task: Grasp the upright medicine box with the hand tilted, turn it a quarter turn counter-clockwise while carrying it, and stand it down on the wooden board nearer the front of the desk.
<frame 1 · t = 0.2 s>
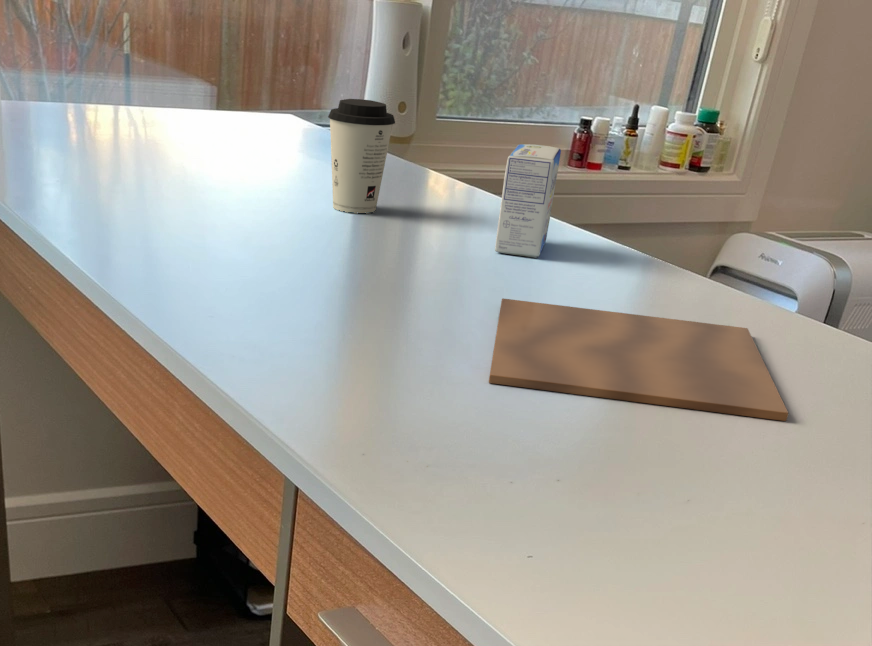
wooden board: (628, 357, 83), on the table
medicine box: (519, 249, 110), on the table
coffee cup: (354, 210, 119), on the table
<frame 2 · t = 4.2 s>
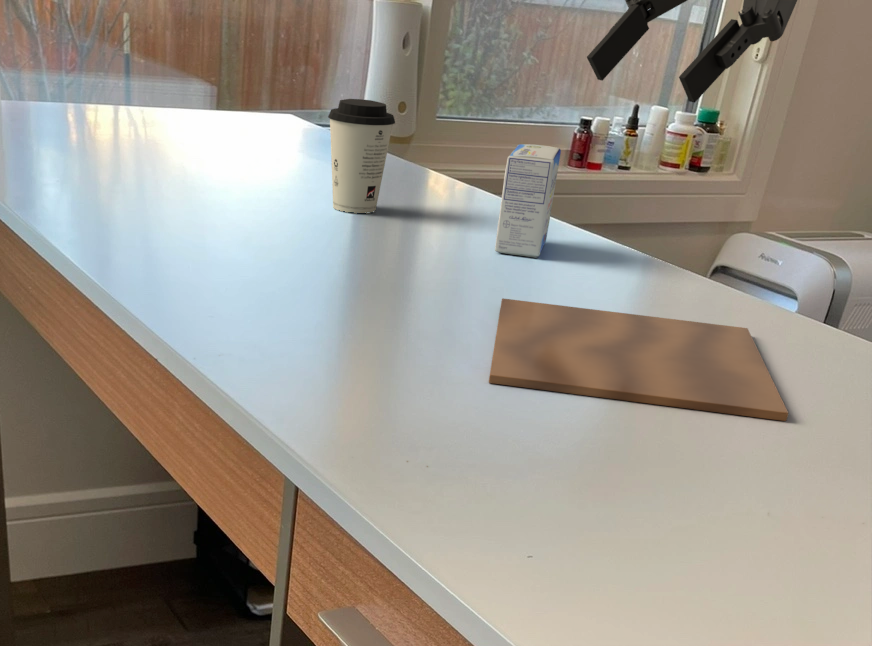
hand: (638, 79, 106), 15 cm above the table, tool tilted 45°, fingers open, 13 cm apart
nothing on the table moved.
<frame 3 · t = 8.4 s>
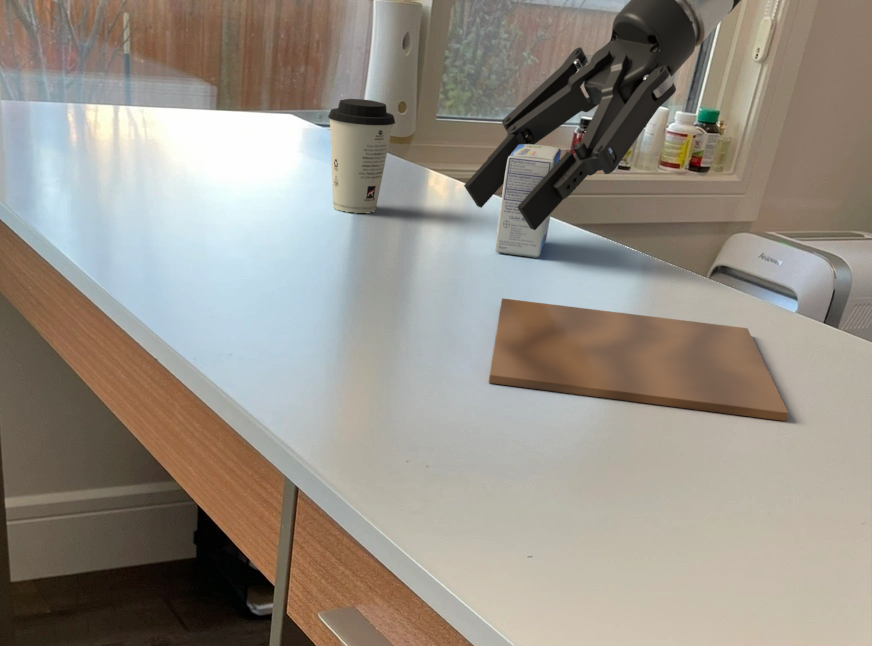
hand: (498, 207, 107), 4 cm above the table, tool tilted 45°, fingers closed on medicine box, 9 cm apart
medicine box: (519, 249, 110), on the table, touching gripper
everything else where it was.
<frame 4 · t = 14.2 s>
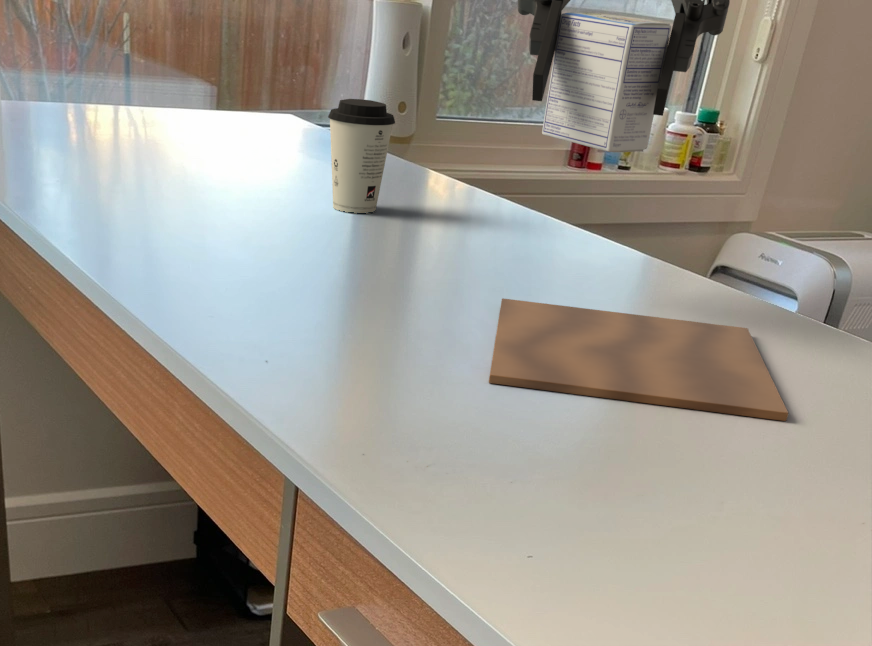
hand: (598, 95, 85), 16 cm above the table, tool tilted 45°, fingers closed on medicine box, 9 cm apart
medicine box: (592, 146, 89), point 12 cm above the table, touching gripper
everything else where it was.
when the fingers open (4 cm above the table, at t = 20.3 s): medicine box stays where it is, resting on wooden board.
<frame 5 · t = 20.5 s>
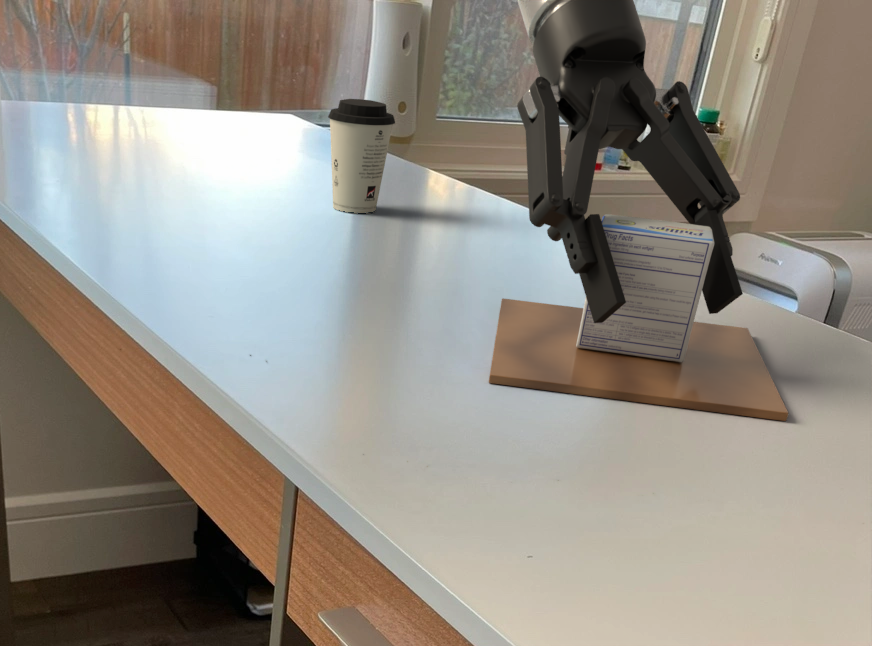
hand: (669, 308, 79), 4 cm above the table, tool tilted 45°, fingers open, 10 cm apart
medicine box: (628, 351, 83), resting on wooden board
everything else where it was.
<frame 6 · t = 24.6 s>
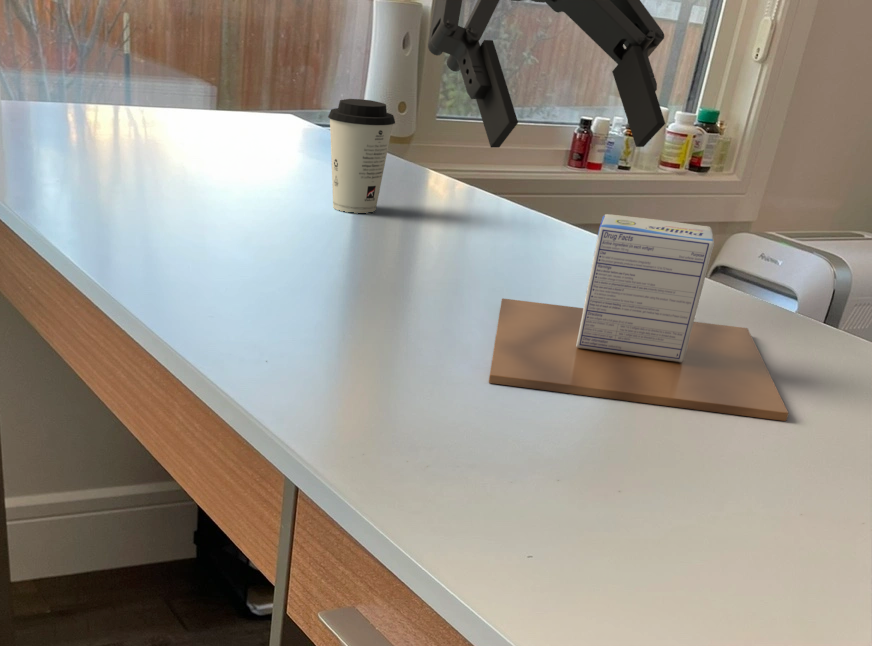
hand: (580, 135, 83), 13 cm above the table, tool tilted 45°, fingers open, 13 cm apart
nothing on the table moved.
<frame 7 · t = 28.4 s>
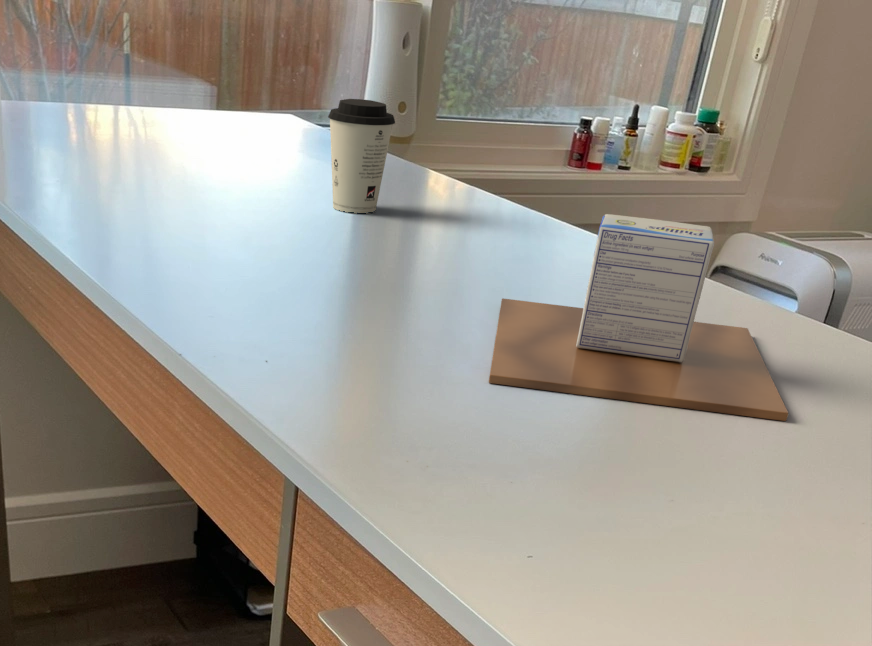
nothing on the table moved.
at the end: medicine box inside the target area on the wooden board (0.1 cm from its centre), point 0.4 cm above the wooden board's base; medicine box tilted 0°; the gripper is holding nothing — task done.
